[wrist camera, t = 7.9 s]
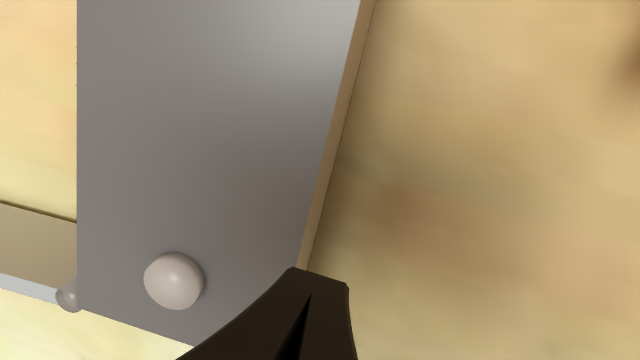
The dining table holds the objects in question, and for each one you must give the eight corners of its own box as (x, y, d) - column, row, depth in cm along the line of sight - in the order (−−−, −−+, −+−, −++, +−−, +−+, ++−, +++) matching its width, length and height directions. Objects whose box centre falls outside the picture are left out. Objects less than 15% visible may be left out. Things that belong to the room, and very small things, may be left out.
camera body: (301, 292, 22) (265, 384, 17) (141, 242, 22) (61, 315, 17) (391, -60, 15) (378, -87, 10) (167, -113, 16) (52, -162, 11)
